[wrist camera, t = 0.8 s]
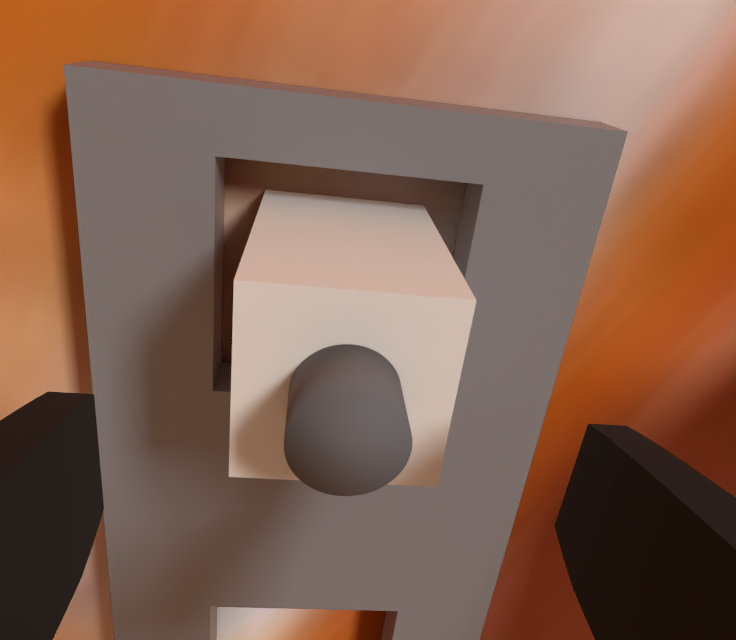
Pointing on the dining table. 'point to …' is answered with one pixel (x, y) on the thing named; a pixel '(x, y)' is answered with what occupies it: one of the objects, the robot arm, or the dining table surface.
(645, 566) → the robot arm
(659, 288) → the dining table surface
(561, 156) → the grey board with holes
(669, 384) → the dining table surface
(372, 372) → the plug
